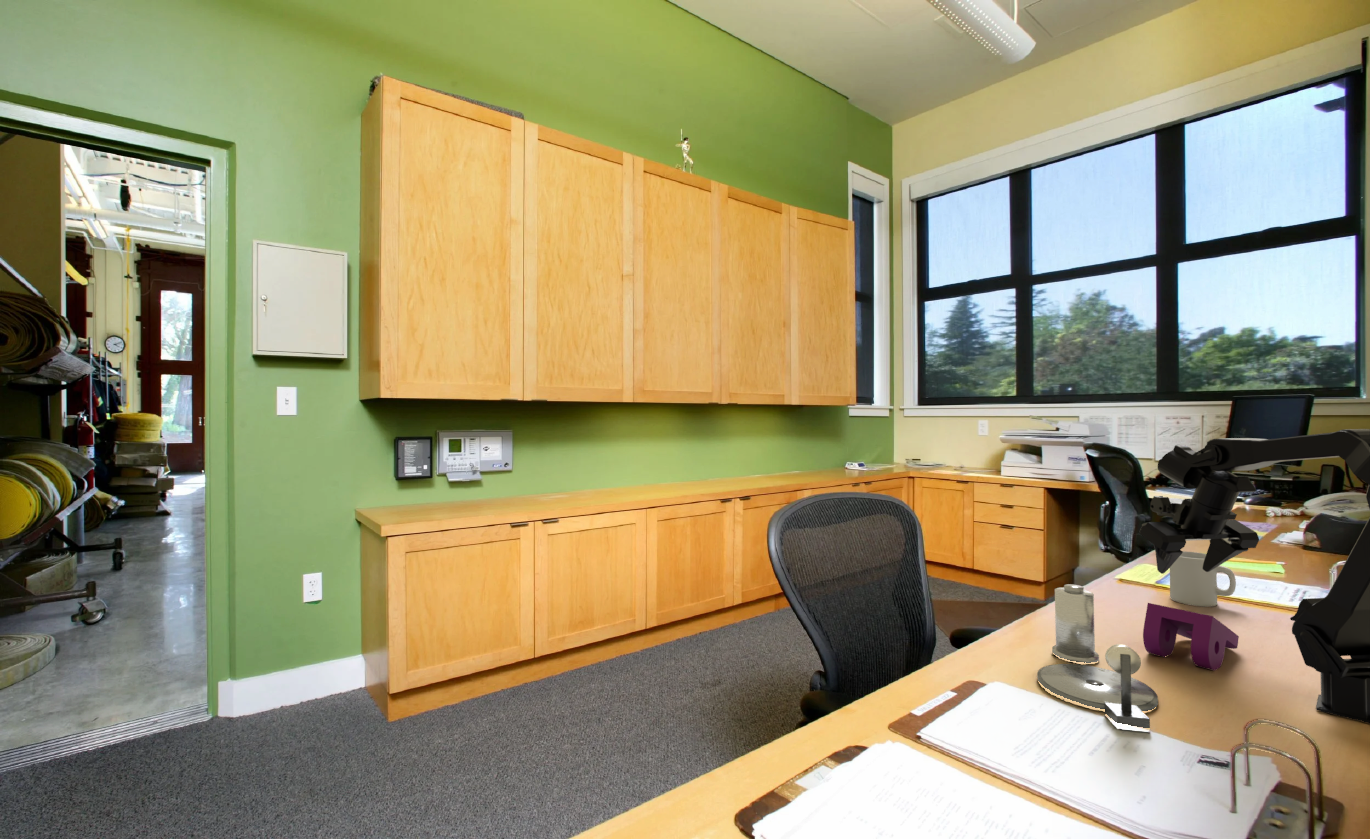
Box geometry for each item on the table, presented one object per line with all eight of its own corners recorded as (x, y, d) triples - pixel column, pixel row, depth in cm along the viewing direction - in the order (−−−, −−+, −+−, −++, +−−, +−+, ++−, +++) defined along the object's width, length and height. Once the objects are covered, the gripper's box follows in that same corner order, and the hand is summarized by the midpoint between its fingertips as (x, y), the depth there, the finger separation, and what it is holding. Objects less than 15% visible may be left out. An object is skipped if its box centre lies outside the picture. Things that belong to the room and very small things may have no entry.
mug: (1163, 599, 141) (1162, 554, 142) (1178, 593, 146) (1177, 549, 146) (1229, 613, 131) (1228, 563, 131) (1243, 606, 136) (1242, 558, 136)
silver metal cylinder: (1092, 668, 104) (1090, 594, 104) (1046, 656, 109) (1044, 586, 109) (1104, 657, 109) (1102, 586, 109) (1060, 646, 114) (1058, 579, 114)
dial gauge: (1150, 733, 82) (1148, 654, 83) (1117, 729, 83) (1115, 651, 84) (1136, 718, 86) (1134, 643, 86) (1104, 715, 87) (1103, 641, 87)
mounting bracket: (1177, 669, 117) (1139, 647, 108) (1183, 627, 119) (1147, 602, 110) (1240, 687, 109) (1205, 665, 100) (1246, 641, 111) (1212, 616, 102)
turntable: (1143, 726, 84) (1143, 717, 84) (1021, 689, 96) (1021, 681, 96) (1169, 691, 95) (1168, 684, 95) (1056, 661, 107) (1056, 655, 107)
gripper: (1220, 478, 116) (1192, 545, 122) (1130, 481, 115) (1106, 548, 121) (1276, 509, 106) (1243, 580, 112) (1178, 512, 104) (1149, 583, 111)
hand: (1182, 571), depth 114 cm, fingers open, 9 cm apart
